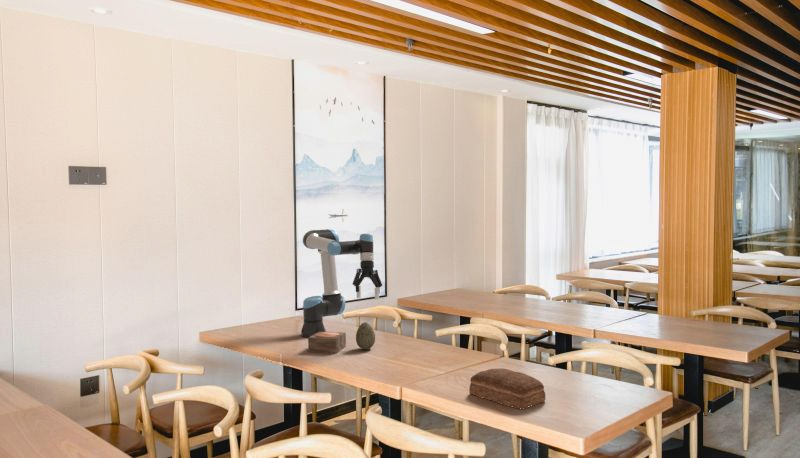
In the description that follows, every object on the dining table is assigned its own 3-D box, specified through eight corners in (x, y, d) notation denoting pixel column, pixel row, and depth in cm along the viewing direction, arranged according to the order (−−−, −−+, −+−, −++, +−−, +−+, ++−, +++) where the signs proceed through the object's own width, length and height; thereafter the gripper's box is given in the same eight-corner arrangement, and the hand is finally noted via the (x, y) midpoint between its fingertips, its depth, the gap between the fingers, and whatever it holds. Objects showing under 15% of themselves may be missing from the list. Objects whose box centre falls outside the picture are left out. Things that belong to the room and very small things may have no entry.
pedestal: (319, 345, 364) (318, 330, 364) (345, 346, 360) (345, 332, 360) (308, 352, 349) (308, 337, 348) (336, 353, 345) (335, 338, 344)
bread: (493, 386, 281) (493, 361, 280) (548, 402, 258) (548, 374, 258) (466, 394, 270) (466, 368, 269) (521, 412, 247) (521, 382, 247)
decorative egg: (352, 349, 353) (351, 322, 353) (367, 346, 361) (366, 319, 360) (364, 352, 345) (363, 325, 345) (379, 349, 353) (378, 322, 352)
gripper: (354, 258, 350) (355, 296, 346) (387, 261, 367) (388, 298, 363) (345, 260, 355) (346, 298, 351) (378, 263, 372) (379, 299, 368)
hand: (368, 298), depth 357 cm, fingers open, 13 cm apart
